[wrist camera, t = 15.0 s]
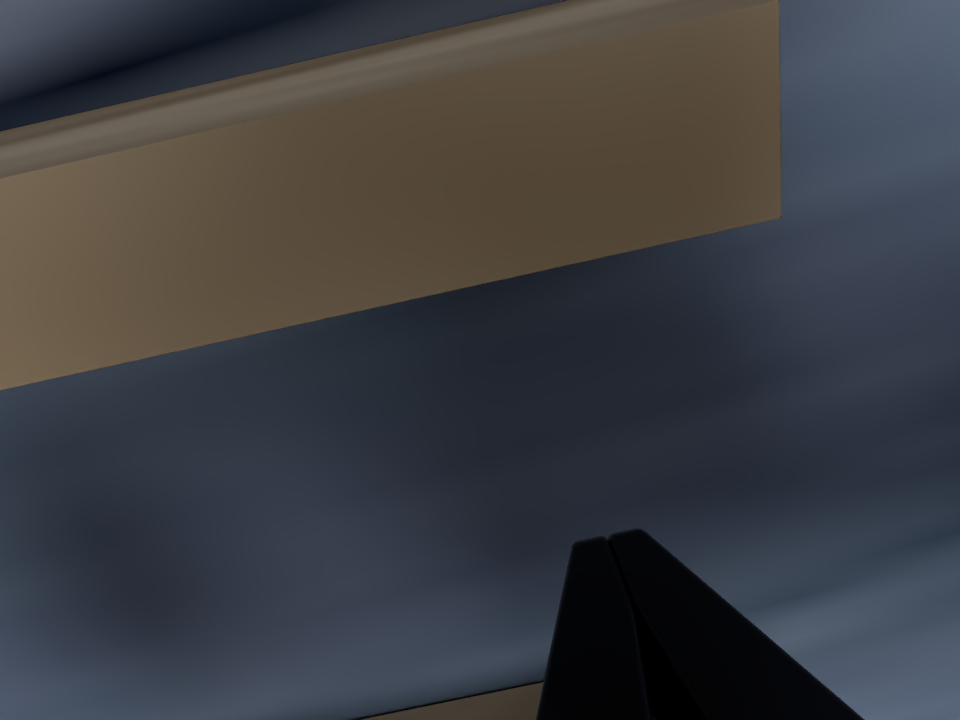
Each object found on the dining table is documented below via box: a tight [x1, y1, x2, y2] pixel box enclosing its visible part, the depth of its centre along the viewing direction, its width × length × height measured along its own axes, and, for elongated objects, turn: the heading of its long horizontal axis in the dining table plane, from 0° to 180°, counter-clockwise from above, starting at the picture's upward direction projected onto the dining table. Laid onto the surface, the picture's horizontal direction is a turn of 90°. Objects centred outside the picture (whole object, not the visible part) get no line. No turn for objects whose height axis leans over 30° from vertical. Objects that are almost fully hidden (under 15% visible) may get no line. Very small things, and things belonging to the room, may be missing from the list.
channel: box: [0, 0, 782, 720], centre depth 10 cm, size 12×16×4 cm
